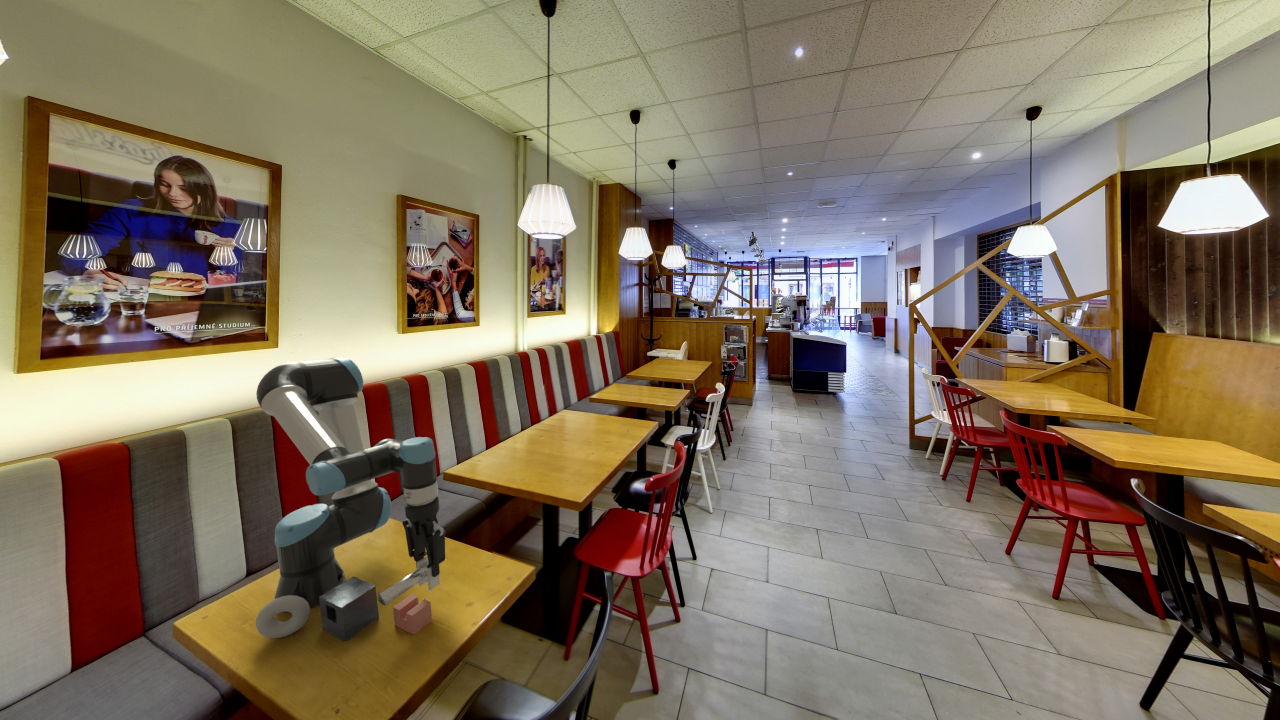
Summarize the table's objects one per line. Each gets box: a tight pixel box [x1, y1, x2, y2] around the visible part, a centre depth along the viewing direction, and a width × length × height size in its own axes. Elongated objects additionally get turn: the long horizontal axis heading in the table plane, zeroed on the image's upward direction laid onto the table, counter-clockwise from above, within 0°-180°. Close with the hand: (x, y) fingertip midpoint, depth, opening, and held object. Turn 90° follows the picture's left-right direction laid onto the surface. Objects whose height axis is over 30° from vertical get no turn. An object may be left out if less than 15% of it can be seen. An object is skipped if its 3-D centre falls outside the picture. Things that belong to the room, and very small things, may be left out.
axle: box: [377, 562, 429, 607], centre depth 99 cm, size 3×14×3 cm, turn 157°
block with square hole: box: [319, 576, 380, 643], centre depth 99 cm, size 9×8×9 cm
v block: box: [392, 593, 433, 635], centre depth 100 cm, size 7×5×5 cm
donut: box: [255, 595, 311, 639], centre depth 96 cm, size 10×4×10 cm, turn 117°
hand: (429, 584), depth 104 cm, fingers closed on axle, 3 cm apart
